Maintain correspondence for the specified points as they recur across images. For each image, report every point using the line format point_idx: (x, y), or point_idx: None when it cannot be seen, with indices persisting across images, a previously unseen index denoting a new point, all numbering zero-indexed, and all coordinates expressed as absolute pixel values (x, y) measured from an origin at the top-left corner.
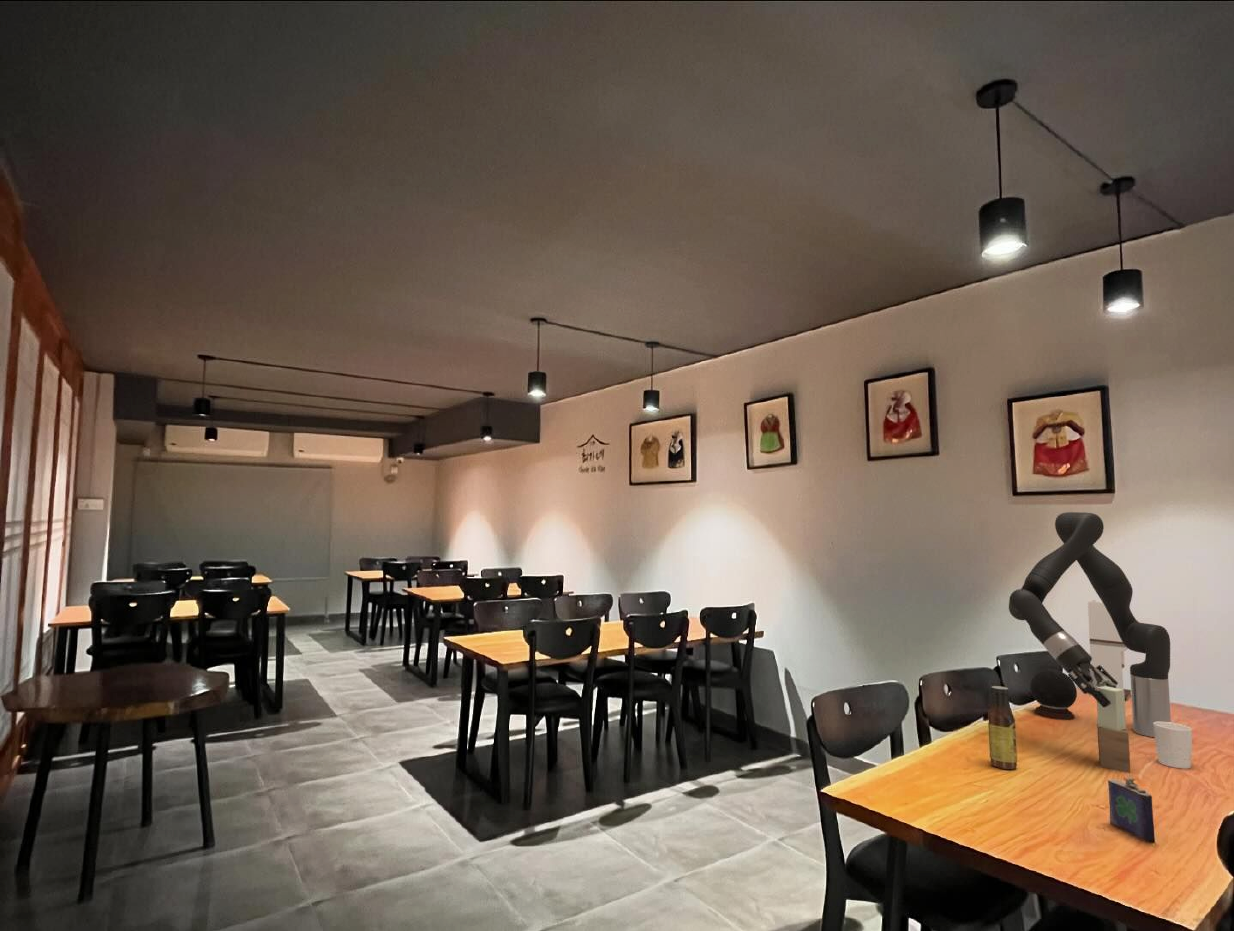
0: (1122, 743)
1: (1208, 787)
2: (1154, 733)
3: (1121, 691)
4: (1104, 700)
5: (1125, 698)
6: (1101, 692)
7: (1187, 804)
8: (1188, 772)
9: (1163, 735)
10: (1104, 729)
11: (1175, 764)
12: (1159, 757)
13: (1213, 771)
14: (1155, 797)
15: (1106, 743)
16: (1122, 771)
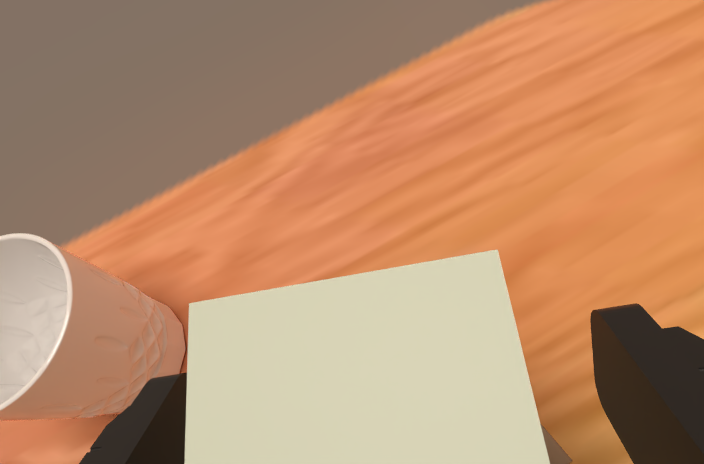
0: None
1: (314, 153)
2: (63, 403)
3: (289, 292)
4: (697, 345)
5: (176, 375)
6: (700, 427)
7: (582, 62)
8: (195, 274)
9: (103, 329)
10: (545, 429)
11: (175, 320)
12: None
13: (100, 255)
14: (645, 125)
15: None
16: None
